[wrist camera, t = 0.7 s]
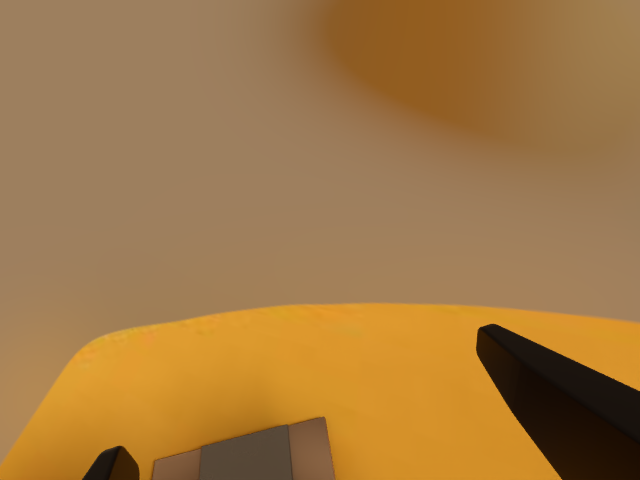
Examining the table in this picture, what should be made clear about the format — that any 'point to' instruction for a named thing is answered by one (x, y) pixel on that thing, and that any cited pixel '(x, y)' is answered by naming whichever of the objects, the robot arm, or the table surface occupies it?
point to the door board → (306, 456)
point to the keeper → (249, 457)
